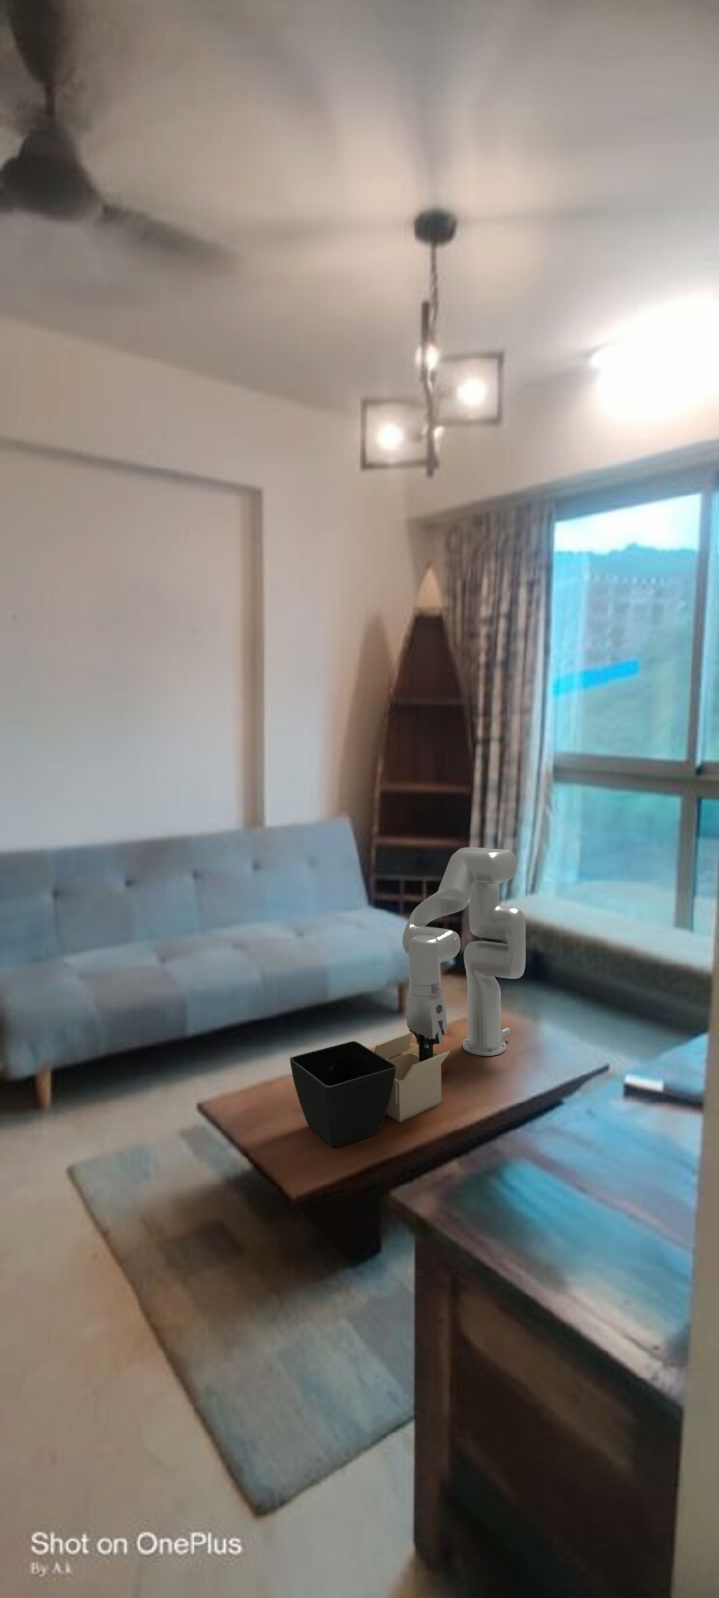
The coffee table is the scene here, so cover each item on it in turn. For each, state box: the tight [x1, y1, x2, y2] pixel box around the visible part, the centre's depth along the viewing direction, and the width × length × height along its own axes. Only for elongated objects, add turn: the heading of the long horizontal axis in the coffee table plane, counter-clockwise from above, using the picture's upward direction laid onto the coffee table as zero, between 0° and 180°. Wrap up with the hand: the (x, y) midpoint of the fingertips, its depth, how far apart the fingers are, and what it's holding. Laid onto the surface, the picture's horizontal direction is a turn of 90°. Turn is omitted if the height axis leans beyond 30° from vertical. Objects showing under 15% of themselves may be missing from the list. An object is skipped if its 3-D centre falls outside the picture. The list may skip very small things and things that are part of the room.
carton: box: [387, 1041, 449, 1075], centre depth 220 cm, size 8×16×4 cm, turn 38°
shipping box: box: [385, 1052, 442, 1123], centre depth 198 cm, size 15×11×10 cm
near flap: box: [403, 1050, 450, 1080], centre depth 191 cm, size 12×6×1 cm
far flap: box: [373, 1031, 414, 1060], centre depth 201 cm, size 12×6×1 cm
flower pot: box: [289, 1040, 396, 1148], centre depth 187 cm, size 19×19×17 cm
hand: (426, 1060), depth 191 cm, fingers closed
